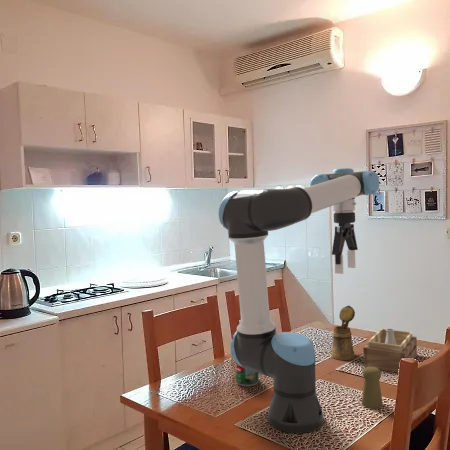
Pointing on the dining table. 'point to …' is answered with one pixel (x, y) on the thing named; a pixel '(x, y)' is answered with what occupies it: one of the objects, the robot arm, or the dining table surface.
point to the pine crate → (379, 343)
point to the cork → (372, 388)
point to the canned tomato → (245, 376)
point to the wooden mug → (343, 336)
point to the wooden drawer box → (388, 356)
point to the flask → (390, 336)
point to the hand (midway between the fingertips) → (345, 270)
